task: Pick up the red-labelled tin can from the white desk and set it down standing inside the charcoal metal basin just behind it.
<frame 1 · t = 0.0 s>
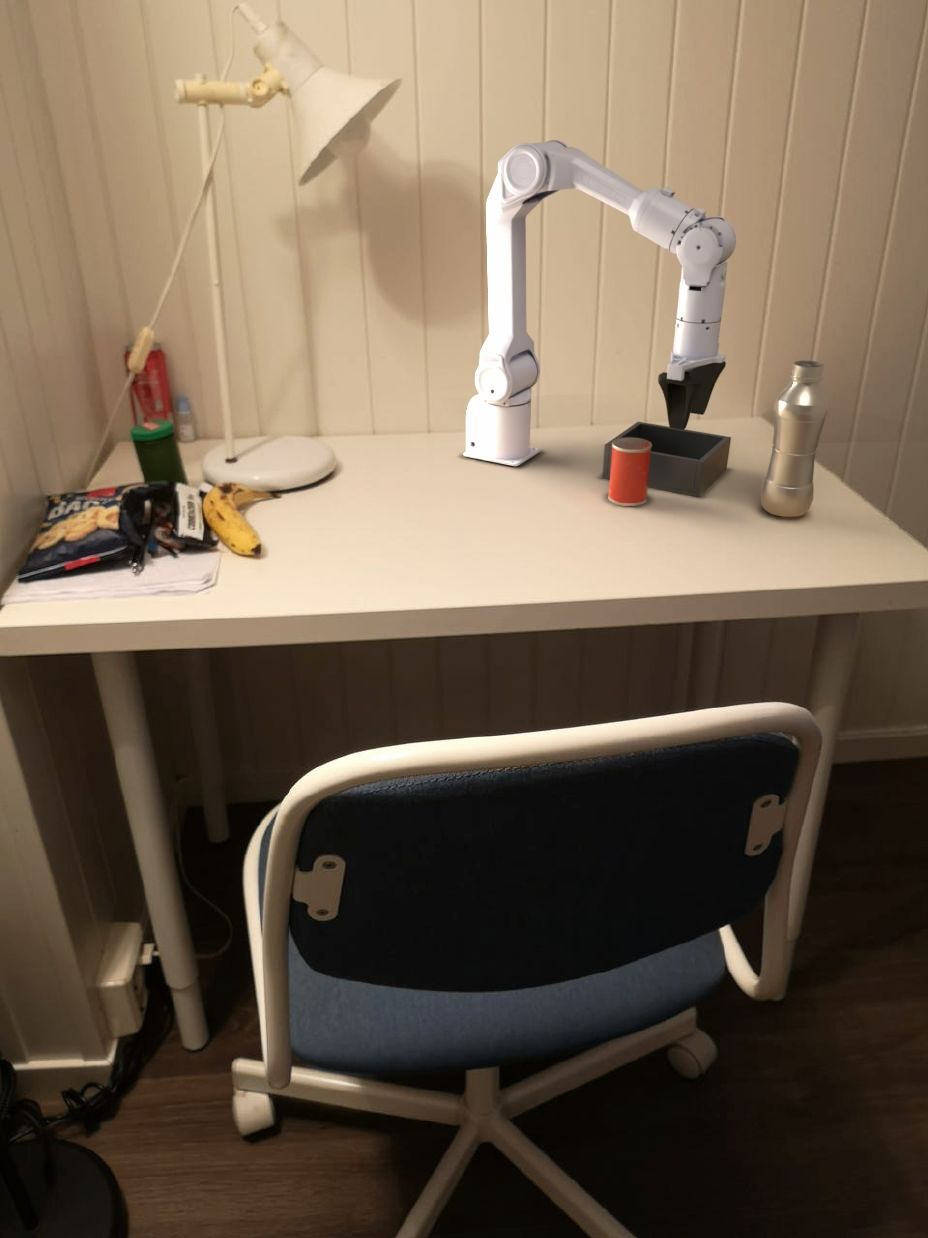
hand: (687, 420, 134), 10 cm above the table, tool pointing down, fingers open, 7 cm apart
basin: (665, 473, 144), on the table
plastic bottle: (783, 514, 131), on the table
tin can: (627, 498, 135), on the table
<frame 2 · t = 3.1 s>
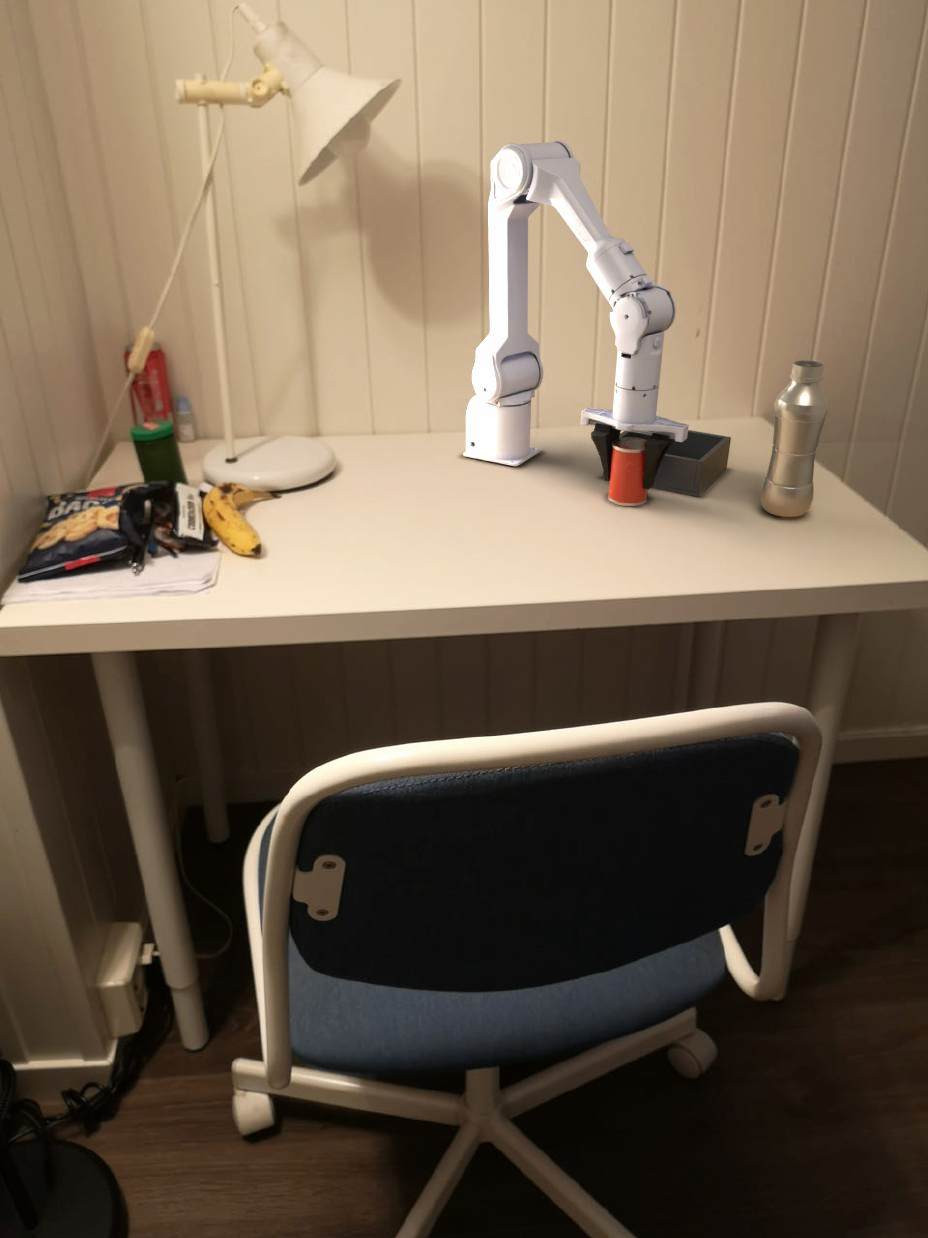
hand: (628, 482, 134), 2 cm above the table, tool pointing down, fingers closed on tin can, 5 cm apart
tin can: (627, 498, 135), on the table, touching gripper
everything else where it was.
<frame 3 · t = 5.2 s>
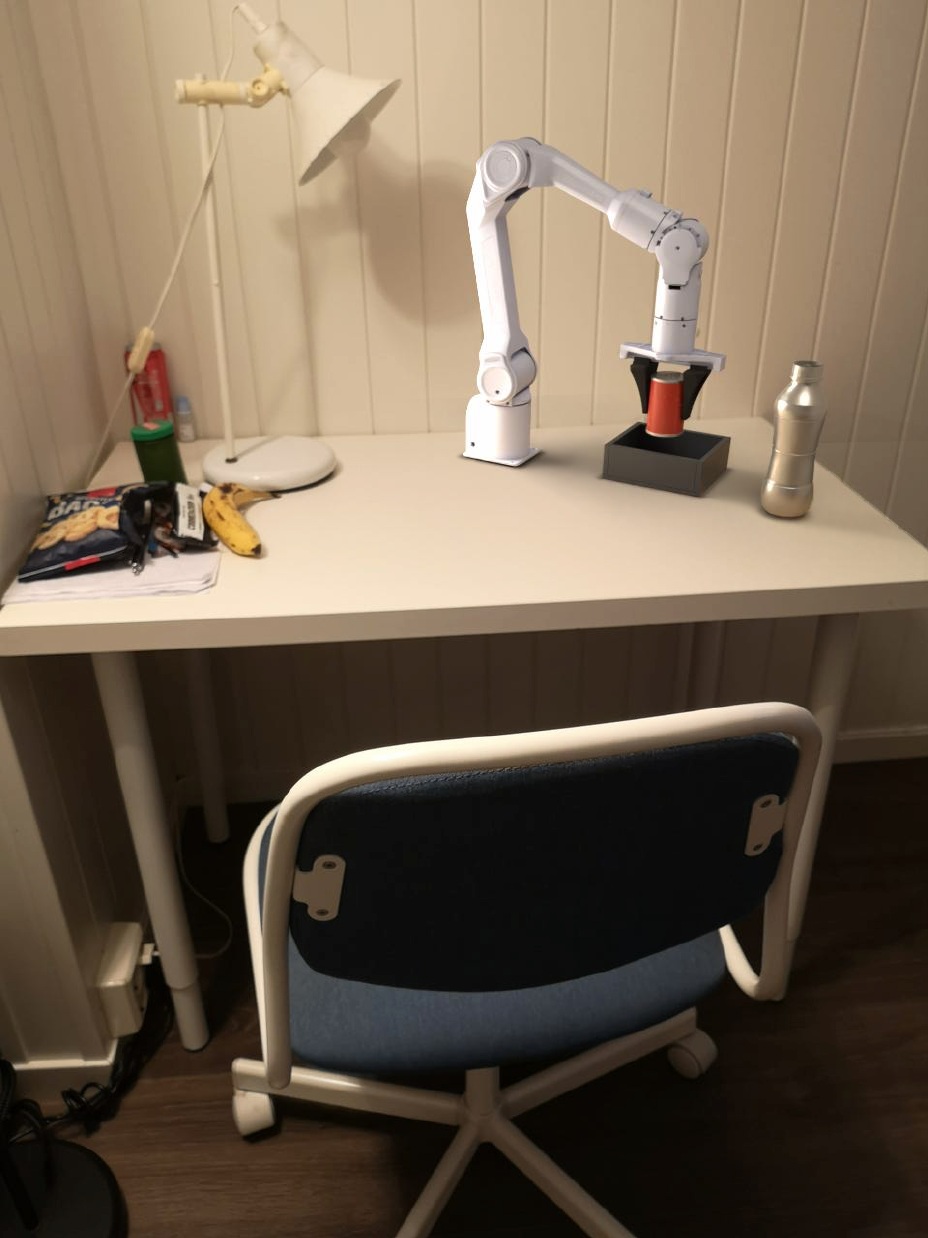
hand: (665, 415, 138), 9 cm above the table, tool pointing down, fingers closed on tin can, 5 cm apart
tin can: (664, 431, 139), point 7 cm above the table, touching gripper
everything else where it was.
when the fingers open (3 cm above the table, at t = 7.5 s): tin can stays where it is, resting on basin.
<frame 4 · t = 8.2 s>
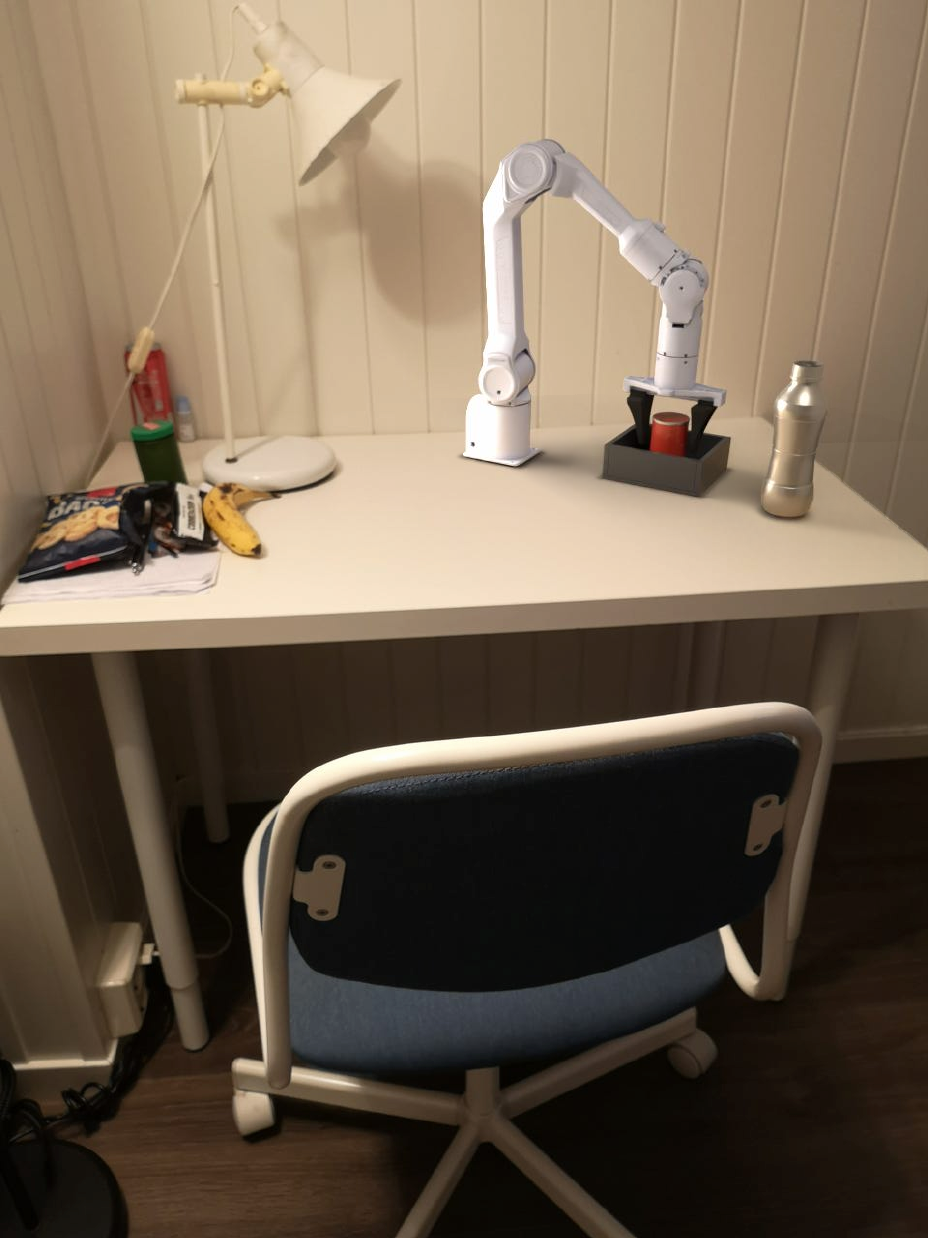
hand: (667, 446, 142), 4 cm above the table, tool pointing down, fingers open, 7 cm apart
tin can: (665, 470, 144), point 1 cm above the table, touching basin
everything else where it was.
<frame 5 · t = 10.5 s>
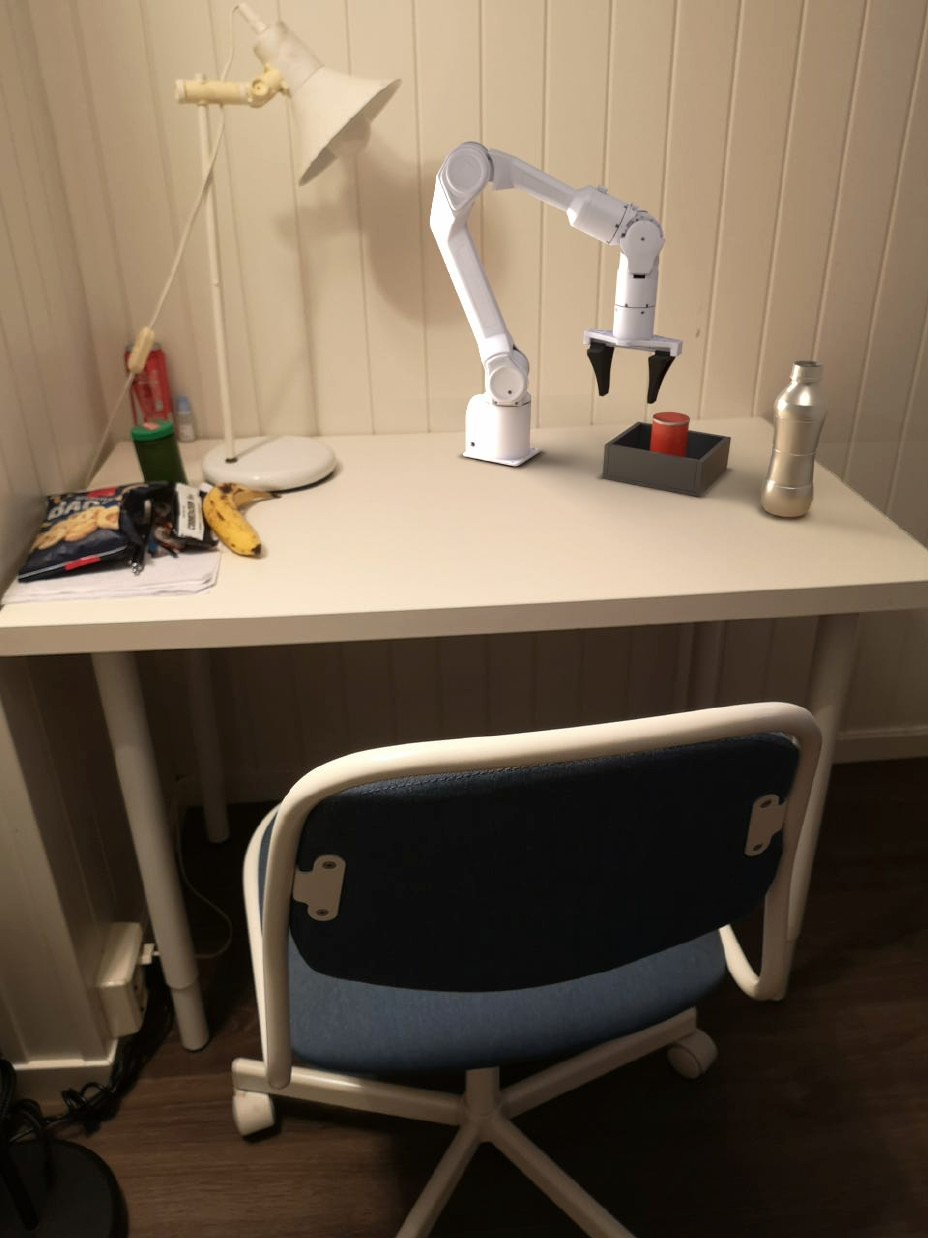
hand: (627, 398, 145), 9 cm above the table, tool pointing down, fingers open, 7 cm apart
nothing on the table moved.
at the end: tin can inside the target area in the basin (0.0 cm from its centre), point 0.6 cm above the basin's base; tin can tilted 0°; the gripper is holding nothing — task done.
